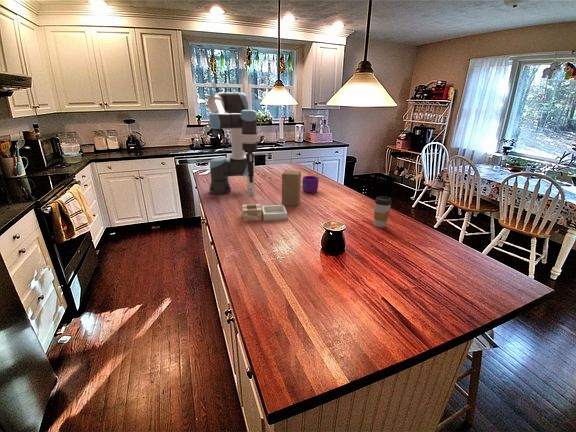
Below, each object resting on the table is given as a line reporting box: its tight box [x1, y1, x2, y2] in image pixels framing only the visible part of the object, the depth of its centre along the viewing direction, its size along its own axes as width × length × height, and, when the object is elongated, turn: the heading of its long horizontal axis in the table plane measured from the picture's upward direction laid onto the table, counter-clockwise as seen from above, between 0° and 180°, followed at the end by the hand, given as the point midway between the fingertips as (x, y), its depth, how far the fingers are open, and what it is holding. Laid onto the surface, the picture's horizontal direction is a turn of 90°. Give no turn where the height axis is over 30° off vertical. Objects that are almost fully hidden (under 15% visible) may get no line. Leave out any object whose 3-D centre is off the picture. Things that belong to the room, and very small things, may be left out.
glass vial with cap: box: [246, 169, 255, 198], centre depth 155 cm, size 4×4×14 cm
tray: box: [261, 204, 288, 222], centre depth 164 cm, size 13×13×4 cm
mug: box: [302, 175, 319, 194], centre depth 210 cm, size 17×11×10 cm, turn 17°
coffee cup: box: [373, 195, 392, 228], centre depth 152 cm, size 8×8×15 cm
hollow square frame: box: [241, 203, 263, 222], centre depth 161 cm, size 10×10×6 cm
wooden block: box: [281, 169, 302, 207], centre depth 181 cm, size 10×10×20 cm
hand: (251, 186), depth 156 cm, fingers closed on glass vial with cap, 3 cm apart
